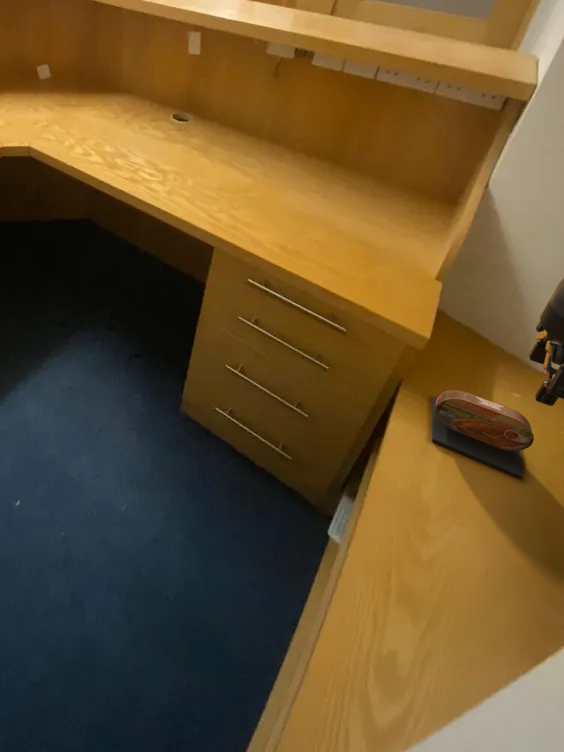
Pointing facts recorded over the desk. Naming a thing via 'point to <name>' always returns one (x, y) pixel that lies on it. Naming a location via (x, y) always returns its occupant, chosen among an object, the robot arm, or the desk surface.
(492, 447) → the mat
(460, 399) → the tin
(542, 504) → the desk surface
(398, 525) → the desk surface
